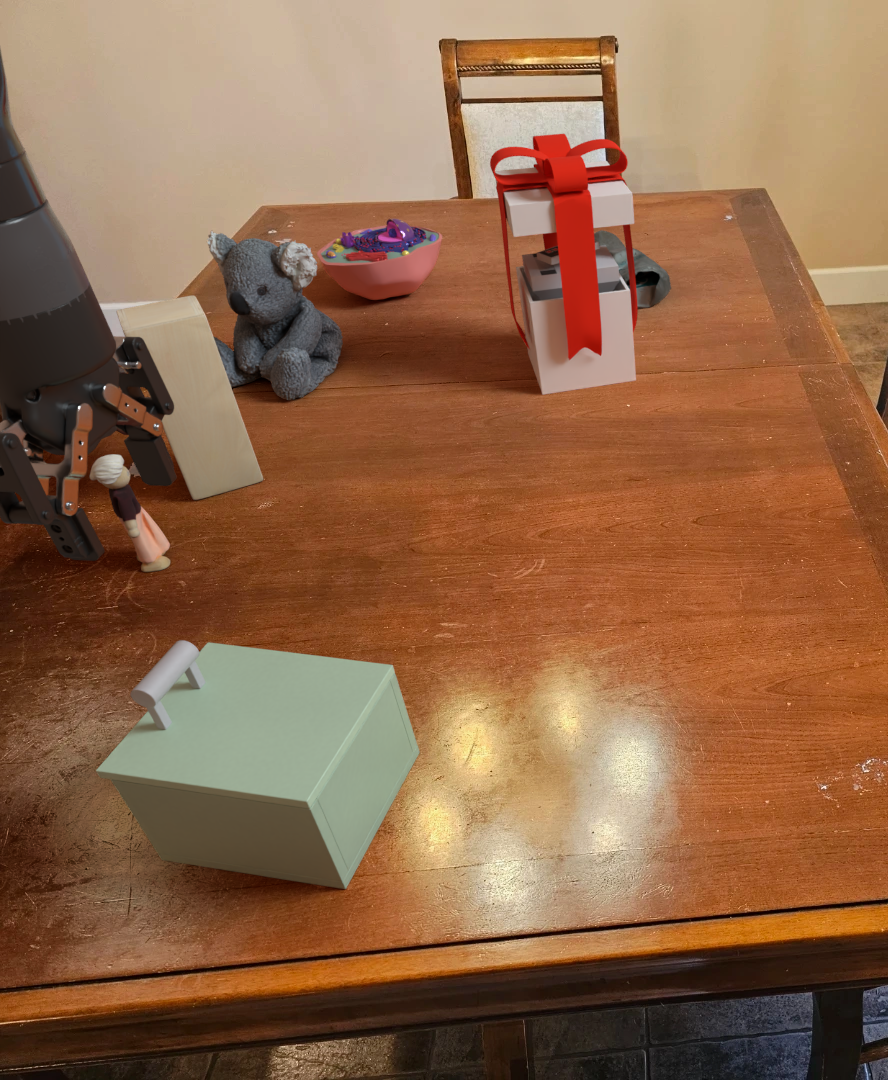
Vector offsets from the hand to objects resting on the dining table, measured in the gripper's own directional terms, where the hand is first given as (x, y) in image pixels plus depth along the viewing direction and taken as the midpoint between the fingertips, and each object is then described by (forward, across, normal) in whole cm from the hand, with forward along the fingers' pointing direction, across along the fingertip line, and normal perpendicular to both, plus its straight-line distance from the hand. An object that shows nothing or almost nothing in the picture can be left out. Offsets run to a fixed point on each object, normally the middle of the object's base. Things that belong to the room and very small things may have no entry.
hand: (126, 518), depth 63 cm
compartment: (+24, +5, +7) cm, 25 cm away
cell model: (+24, -96, -23) cm, 101 cm away
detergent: (+24, -101, +15) cm, 105 cm away
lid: (+14, +5, +7) cm, 17 cm away
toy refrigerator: (+24, -40, -22) cm, 51 cm away
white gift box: (+24, -71, +14) cm, 76 cm away
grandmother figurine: (+24, -24, -22) cm, 40 cm away
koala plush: (+24, -67, -27) cm, 76 cm away
